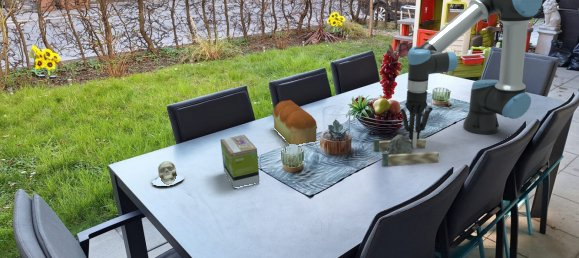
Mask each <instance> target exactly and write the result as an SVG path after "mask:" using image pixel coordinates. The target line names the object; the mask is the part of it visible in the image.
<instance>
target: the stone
mask: <svg viewBox="0 0 579 258" xmlns="http://www.w3.org/2000/svg"><path fill="white" fill-rule="evenodd" d="M389 141H390V142H389V144H388V147H387V151H386V152H388V153H389V155H392V154H408V153H414V149H413V148H412V145H411V142H410V140H409V138H408V137H406V136H404V135H403V134H396V136H394V137H393V138H391V139H390V140H389Z"/></svg>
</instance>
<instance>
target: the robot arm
mask: <svg viewBox="0 0 579 258" xmlns="http://www.w3.org/2000/svg"><path fill="white" fill-rule="evenodd" d="M468 4H469V5H468V6H467V7H466V8H464V9H463V10H462V11H461V12H460V13H459V14H457V15H456V16H455V17H454V18H452V19H451V20H450V21H449V22H448V23H447V24H445V25H444V26H443V27H442V28H441V29H439V31H437V32H436V33H434V34H433V35H432V36H431V37H430V38H428V40H426V41H425V42H424V43H422V44H421V45H420V46H419V45H418V46H417V45H415V46H413V47H411V48H410V49H409V50H408V52H407V56H406V57H407V61H408V67H407V68H408V71H407V85H406V86H407V87H406V88H407V91H406V102H405V105H403V106H402V107H399V109H398V110H399V112H400V113H401V117H402V122H403V128H404V130H405V131H406V132H408V139H410V140H411V145H412V148H416V143H417V139H420V133H422V131H425V129H426V127H427V123H428V120H429V117H430V114H431V112H433V110H434V108H433V107H432V106H431V105H428V101H427V100H428V91H427V90H428V89H429V88H428V86H429V77H430V75H434V74H442V73H443V74H444V73H448V72H453V71H455V70H456V69H457V67H458V64H459V63H458V62H459V59H458V56H457V54H456V53H454V52H452V51H445V50H447V48H449V47H450V46H451V45H452V44H453V43H455V42H456V41H457V40H458V39H459V38H460V37H461V38H462V36H463V35H464V34H465V33H466V32H468V31H469V30H471V28H473V27H474V26H475V25H476V24H477V23H479V22H480V21H481V20H486V19H487V18H488V17H490V16H491V15H495V14H499V22H500V23H501V24H502V25H503V26H502V27H503V29H502V41H501V42H502V43H501V53H500V64H499V65H500V67H499V78H498V79H499V80H498V79H479V80H475V81H473V82H472V85H471V89H470V99H469V109H468V113H467V115H466V116H465V119H464V121H463V125H462V127H463V130H465V131H467V132H469V133H473V134H477V135H493V134H496V133H498V132H499V129H500V124H499V121H498V116H497V115H500V116H501V117H504V118H508V119H512V120H515V119H519V118H521V117H523V116H524V115H525V114H526V113H527V112H528V110H529V109H530V107H531V104H532V98H531V96H530V95H529V94H528V93H526V89H527V88H526V87H527V86H526V84H525V83H524V82H523V78H524V76H523V75H524V68H525V67H524V66H525V55H526V48H527V37H528V36H527V35H528V26H529V24H530V22H532V21H533V19H534V16H535V15H536V14H537V13H538V12H539V9H541V7H542V4H543V0H470V1H469V3H468ZM443 51H445V52H443ZM407 111H408V112H409V119H408V117H407V116H408V115H407Z"/></svg>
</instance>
